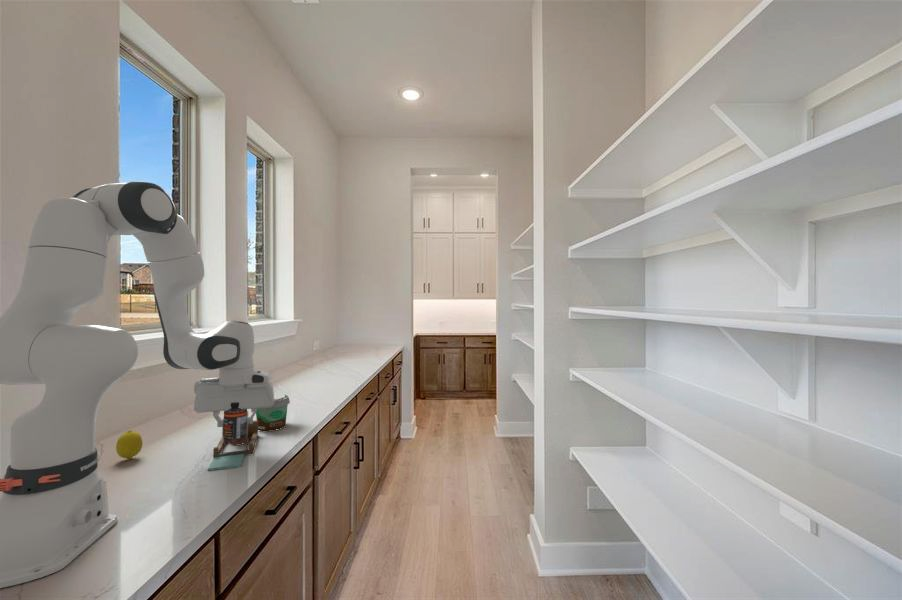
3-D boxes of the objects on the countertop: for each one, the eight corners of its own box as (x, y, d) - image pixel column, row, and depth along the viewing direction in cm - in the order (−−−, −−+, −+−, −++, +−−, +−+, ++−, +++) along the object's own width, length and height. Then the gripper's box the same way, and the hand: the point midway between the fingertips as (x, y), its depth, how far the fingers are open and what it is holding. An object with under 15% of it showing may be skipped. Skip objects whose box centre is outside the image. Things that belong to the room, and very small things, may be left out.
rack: (252, 454, 110) (253, 436, 110) (213, 459, 106) (213, 441, 106) (257, 435, 125) (257, 420, 125) (223, 439, 122) (223, 423, 122)
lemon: (127, 464, 103) (127, 434, 103) (110, 462, 104) (110, 432, 104) (147, 456, 108) (147, 427, 108) (131, 454, 109) (131, 426, 109)
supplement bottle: (217, 442, 110) (218, 402, 110) (235, 436, 115) (236, 397, 116) (234, 444, 108) (235, 404, 108) (251, 438, 114) (252, 399, 114)
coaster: (240, 466, 102) (241, 464, 102) (207, 470, 99) (207, 468, 99) (244, 455, 109) (244, 453, 109) (213, 459, 106) (213, 457, 106)
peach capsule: (247, 444, 118) (247, 414, 118) (228, 446, 116) (228, 416, 116) (248, 438, 123) (249, 410, 123) (230, 440, 121) (231, 411, 121)
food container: (264, 435, 126) (264, 404, 126) (253, 431, 129) (253, 401, 129) (297, 425, 136) (297, 396, 136) (286, 422, 139) (286, 394, 139)
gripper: (191, 380, 105) (190, 432, 105) (273, 376, 113) (273, 424, 113) (197, 377, 111) (195, 425, 111) (275, 373, 119) (274, 418, 118)
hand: (235, 425), depth 112 cm, fingers closed on supplement bottle, 6 cm apart
